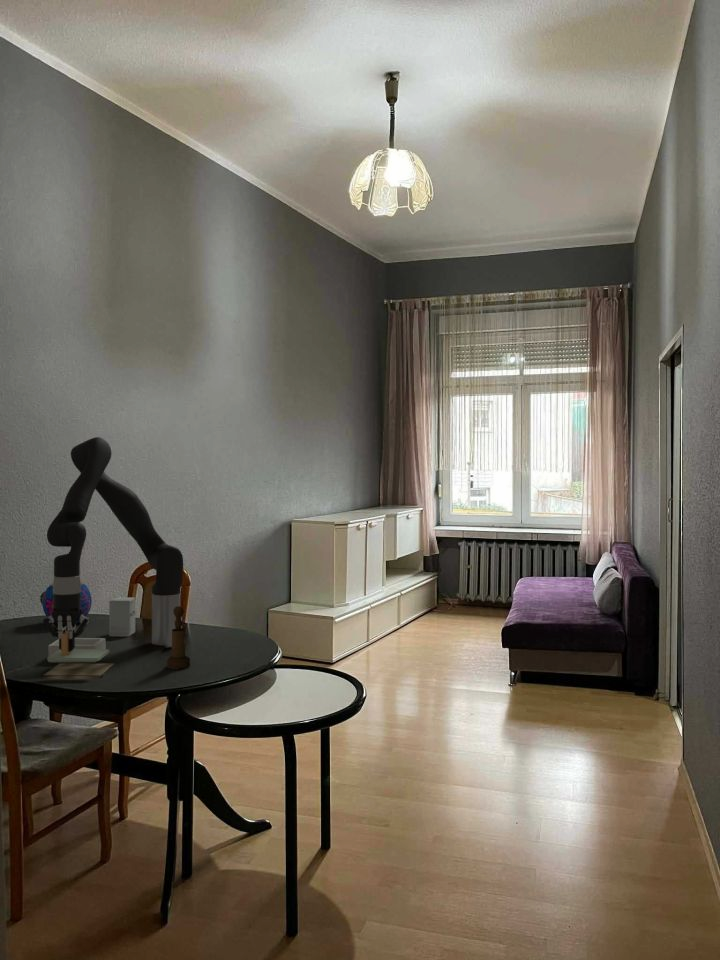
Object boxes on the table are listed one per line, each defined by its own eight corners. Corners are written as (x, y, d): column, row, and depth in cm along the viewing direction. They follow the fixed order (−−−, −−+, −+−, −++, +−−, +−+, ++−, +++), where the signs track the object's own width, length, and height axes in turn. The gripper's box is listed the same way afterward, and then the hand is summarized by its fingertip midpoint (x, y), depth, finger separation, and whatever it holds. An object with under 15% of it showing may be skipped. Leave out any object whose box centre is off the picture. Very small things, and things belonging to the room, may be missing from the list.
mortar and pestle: (167, 670, 238) (167, 609, 238) (166, 664, 245) (166, 605, 244) (190, 668, 240) (190, 608, 240) (189, 663, 247) (189, 604, 246)
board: (114, 666, 242) (114, 663, 242) (100, 678, 229) (100, 675, 229) (60, 666, 242) (60, 663, 242) (43, 678, 229) (43, 675, 229)
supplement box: (129, 636, 282) (129, 600, 282) (108, 636, 283) (108, 600, 282) (136, 632, 290) (136, 597, 289) (115, 632, 290) (115, 596, 290)
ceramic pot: (72, 617, 317) (72, 578, 317) (101, 622, 307) (101, 582, 307) (32, 624, 303) (31, 584, 302) (61, 630, 293) (61, 588, 292)
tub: (105, 657, 253) (105, 638, 253) (95, 665, 243) (95, 645, 243) (60, 657, 253) (60, 638, 253) (48, 665, 243) (48, 645, 243)
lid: (109, 654, 240) (109, 629, 240) (98, 663, 230) (98, 636, 230) (60, 653, 240) (60, 628, 240) (47, 662, 230) (47, 636, 230)
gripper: (94, 589, 238) (94, 648, 239) (48, 589, 238) (48, 648, 239) (86, 593, 231) (86, 654, 231) (38, 593, 231) (38, 654, 231)
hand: (66, 650), depth 235 cm, fingers closed on lid, 1 cm apart
